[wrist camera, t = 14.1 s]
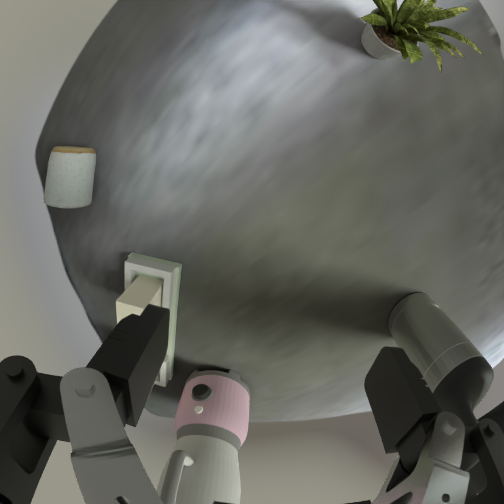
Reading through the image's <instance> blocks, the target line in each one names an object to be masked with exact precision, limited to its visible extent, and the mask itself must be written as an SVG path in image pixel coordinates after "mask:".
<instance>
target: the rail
mask: <svg viewBox="0 0 504 504" xmlns="http://www.w3.org/2000/svg"><path fill="white" fill-rule="evenodd" d="M181 269H182V264H181V263H177V262H172V261H168V260H163V259H159V258H155V257H150V256H146V255H142V254H138V253H133V252H132V253H130V254H129V255H128V259H127V260H126V261H125V290H126V289H127V288H128V287H129V286H130V285H131V284H132V283H133V282H134V280H135V279H136V278H137V277H138V276H139V275H144V276H148V277H153V278H157V279H161V280H164V285H163V299H162V307H164V308H168V309H169V310H170V321H169V339H168V348H167V353H166V356H165V359H164V361H163V364H162V366H161V368H160V371H159V373H158V375H157V378H156V380H155V382H154V384H156V385H160V386H163V387H166V385H167V382H168V380H171V379H172V377H173V367H174V348H175V333H176V320H177V309H178V298H179V288H180V278H181ZM152 388H153V387H152ZM151 390H152V389H151ZM150 393H151V392H150ZM149 395H150V394H149ZM148 397H149V396H148ZM147 400H148V399H147Z"/></svg>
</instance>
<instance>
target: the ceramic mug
mask: <svg viewBox="0 0 504 504" xmlns="http://www.w3.org/2000/svg"><path fill="white" fill-rule="evenodd" d="M95 165H96V152H95V150H94V149H93V148H87V147H74V146H55V147H54V148H53V149H52V151H51V154H50V158H49V162H48V171H47V177H46V185H45V193H44V203H45V204H47V205H49V206H52V207H58V208H79V207H84V206H88V205H90V204H91V203H92V192H93V181H94V172H95Z"/></svg>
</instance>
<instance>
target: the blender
mask: <svg viewBox="0 0 504 504" xmlns="http://www.w3.org/2000/svg"><path fill="white" fill-rule="evenodd" d="M249 403H250V390H249V388H248V386H247V385H246V384H245V383H244V382H243V381H242V380H241V379H240V375H239V374H238V373H237V372H235V371H233V370H229V372H228V373H226V372H222V371H214V370H207V371H201V372H199V371H198V370H195V371H193V372H192V373H191V374H190V376H189V378H188V379H187V380H186V383H185V386H184V389H183V393H182V396H181V399H180V402H179V405H178V409H177V412H176V416H175V431H176V435H177V442H176V445H175V447H174V449H173V451H172V453H171V455H170V457H169V459H168V461H167V463H166V465H165V467H164V469H163V472H162V474H161V477H160V481H159V484H158V488H157V491H156V492H157V493H158V495H159V497H160V499H161V500H162V502H163V504H213V502H214V501H218V502H225V503H233V504H240V493H241V488H240V487H241V486H240V474H239V464H238V455H237V453H238V450H239V448H240V446H241V445H242V444H243V442H244V440H245V438H246V435H247V432H248V420H249Z"/></svg>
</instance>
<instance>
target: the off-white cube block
mask: <svg viewBox="0 0 504 504" xmlns="http://www.w3.org/2000/svg"><path fill="white" fill-rule="evenodd" d="M163 285H164V280H161V279H157V278H153V277H148V276H144V275H139V276H138V277H137V278H136V279H135V280H134V282H133V283H132V284H131V285H130V286H129V287H128V288H127V289H126V290H125V291H124V292H123V294H122V295H121V296H120V297H119V298H118V299H117V300H116V312H117V324H118V323H119V321H120V320H121V319H123V318H125V317H127V316H128V315H130V314H136V315H139V316H140V315H141V313H142V312H143V310H144V309H145V308H146V306H147V305H148V304H153V305H156V306H160V307H162V299H163Z"/></svg>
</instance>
